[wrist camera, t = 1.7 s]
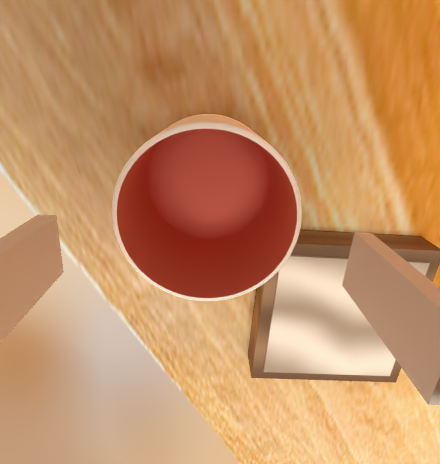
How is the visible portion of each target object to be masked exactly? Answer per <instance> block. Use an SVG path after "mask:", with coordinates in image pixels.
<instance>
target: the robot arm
mask: <svg viewBox="0 0 440 464" xmlns="http://www.w3.org/2000/svg"><path fill="white" fill-rule="evenodd" d="M62 273H63V266H62V257H61V249H60V241H59V233H58V225H57V217H56V216H55V215H37V216H35V217H34V218H32V219H30V220H29V221H27V222H26V223H24V224H22V225H21V226H19V227H18V228H16V229H15V230H13V231H11V232H10V233H8V234H7V235H5V236H4V237H2V238H0V343H1V342H2V341H3V340H4V339H5V338H6V336H7V335H8V334H9V333H10V332H11V331H12V329H14V327H15V326H16V325H17V324H18V323H19V321H21V320H22V318H23V317H24V316H25V315H26V314H27V313H28V312H29V310H30V309H31V308H32V307H33V306H34V305H35V304H36V302H37V301H38V300H39V299H40V298H41V297H42V296H43V295H44V294H45V292H46V291H47V290H48V289H49V288H50V287H51V285H52V284H53V283H54V282H55V281H56V280H57V279H58V278H59V276H60V275H61V274H62ZM342 286H343V287H344V289H345V290H346V291H347V293H348V294H349V296H350V297H351V298H352V300H353V301H354V302H355V304H356V305H357V307H358V308H359V309H360V311H361V312H362V314H363V315H364V316H365V318H366V319H367V320H368V322H369V323H370V325H371V326H372V327H373V329H374V330H375V332H376V333H377V334H378V336H379V337H380V338H381V340H382V341H383V343H384V344H385V345H386V347H387V348H388V350H389V351H390V352H391V354H392V355H393V356H394V358H395V359H396V361H397V362H398V363H399V365H400V366H401V368H402V369H403V370H404V372H405V373H406V374H407V376H408V377H409V379H410V380H411V381H412V383H413V384H414V386H415V387H416V388H417V390H418V391H419V392H420V394H421V395H422V397H423V398H424V399H425V401H426V402H427V404H428V405H440V287H438V286H437V285H436V284H434V283H433V282H432V281H431V280H429V279H428V278H427V277H426V276H424V275H423V274H422V273H421V272H419V271H418V270H417V269H416V268H414V267H413V266H412V265H411V264H409V263H408V262H407V261H406V260H404V259H403V258H402V257H401V256H399V255H398V254H397V253H396V252H394V251H393V250H392V249H391V248H389V247H388V246H387V245H386V244H385V243H383V242H382V241H381V240H380V239H378V238H377V237H376V236H375V235H373V234H372V233H365V232H354V237H353V241H352V245H351V249H350V254H349V258H348V262H347V266H346V271H345V275H344V279H343V283H342Z"/></svg>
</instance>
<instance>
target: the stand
mask: <svg viewBox="0 0 440 464" xmlns="http://www.w3.org/2000/svg"><path fill="white" fill-rule="evenodd" d="M373 235H375V236H376V237H377V238H378V239H380V240H381V241H382V242H383V243H385V244H386V245H387V246H388V247H389V248H391V249H392V250H393V251H394V252H396V253H397V254H398V255H399V256H401V257H402V258H403V259H404V260H406V261H407V262H408V263H409V264H411V265H412V266H413V267H414V268H416V269H417V270H418V271H419V272H421V273H422V274H423V275H424V276H426V277H427V278H428V279H429V280H431V281H432V282H433V280H434V277H435V274H436V271H437V269H438V266H439V263H440V248H438V247H437V246H435V245H434V244H432V243H430V242H429V241H427V240H426V239H424V238H423V237H421V236H404V235H385V234H373ZM353 237H354V233H348V232H330V231H311V230H300V232H299V236H298V239H297V242H296V244H295V246H294V249H293V251H292V253H291V255H290V256H289V258H288V260H287V261H286V262H285V264H284V265H283V266H282V267H281V269H280V270H279V271H278V272H277V273H276V274H275V275H274V276H273V277H272V278H270V279H269V280H268V281H267V282H265V283H264V284H263V285H261V286H259V287H258V288H257V289H256V296H255V304H254V312H253V320H252V328H251V335H250V343H249V351H248V358H249V365H250V372H251V378H277V379H308V380H340V381H371V382H396V380H397V378H398V375H399V372H400V369H401V366H400V365H399V363H398V362H397V361H396V359H395V358H394V356H393V355H392V354H391V352H390V351H389V350H388V348H387V347H386V345H385V344H384V343H383V341H382V340H381V338H380V337H379V336H378V334H377V333H376V332H375V330H374V329H373V327H372V326H371V325H370V323H369V322H368V320H367V319H366V318H365V316H364V315H363V314H362V312H361V311H360V309H359V308H358V307H357V305H356V304H355V302H354V301H353V300H352V298H351V297H350V296H349V294H348V293H347V291H346V290H345V289H344V287H343V286H342V283H343V279H344V275H345V271H346V266H347V262H348V258H349V254H350V249H351V245H352V241H353Z"/></svg>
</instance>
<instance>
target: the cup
mask: <svg viewBox="0 0 440 464" xmlns="http://www.w3.org/2000/svg"><path fill="white" fill-rule="evenodd" d="M301 220H302V203H301V196H300V191H299V188H298V185H297V182H296V179H295V177H294V175H293V173H292V171H291V169H290V167H289V166H288V164H287V163H286V161H285V160H284V159H283V157H282V156H281V155H280V154H279V153H278V152H277V151H276V150H275V149H274V148H273V147H272V146H271V145H270V144H269V143H268V142H266V141H265V140H264V139H262V138H261V137H260V136H259V135H257V134H256V133H255V132H254V131H252V130H251V129H250V128H248V127H247V126H246V125H244V124H243V123H241V122H239V121H237V120H235V119H233V118H230V117H227V116H223V115H218V114H198V115H193V116H189V117H186V118H183V119H181V120H179V121H177V122H175V123H173V124H172V125H170V126H169V127H167V128H166V129H164V130H163V131H161V132H160V133H158V134H157V135H155V136H154V137H152V138H151V139H149V140H148V141H147V142H145V143H144V144H143V145H142V146H141V147H140V148H139V149H137V150H136V152H135V153H134V154H133V155H132V156H131V157H130V159H129V160H128V161H127V163H126V164H125V166H124V168H123V169H122V171H121V173H120V175H119V177H118V180H117V183H116V186H115V189H114V194H113V199H112V222H113V228H114V232H115V236H116V239H117V241H118V244H119V246H120V249H121V250H122V252H123V254H124V256H125V257H126V259H127V260H128V262H129V263H130V265H131V266H132V267H133V268H134V269H135V270H136V271H137V273H139V274H140V275H141V276H142V277H143V278H144V279H145V280H147V281H148V282H149V283H151V284H152V285H154V286H155V287H157V288H159V289H160V290H162V291H165V292H167V293H169V294H171V295H174V296H177V297H181V298H185V299H189V300H195V301H219V300H226V299H230V298H234V297H238V296H241V295H243V294H246V293H248V292H250V291H252V290H254V289H256V288H258V287H259V286H261V285H263V284H264V283H265V282H267V281H268V280H269V279H270V278H272V277H273V276H274V275H275V274H276V273H277V272H278V271H279V270H280V269H281V267H282V266H283V265H284V264H285V262H286V261H287V260H288V258H289V256H290V255H291V253H292V251H293V249H294V246H295V244H296V242H297V239H298V236H299V232H300V228H301Z"/></svg>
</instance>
